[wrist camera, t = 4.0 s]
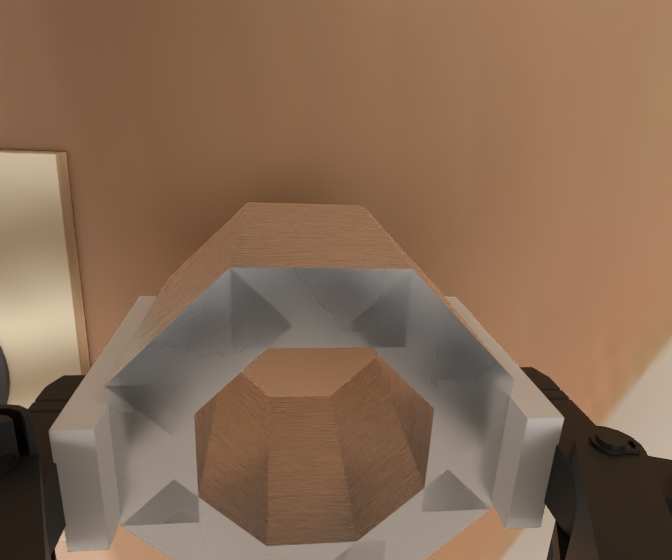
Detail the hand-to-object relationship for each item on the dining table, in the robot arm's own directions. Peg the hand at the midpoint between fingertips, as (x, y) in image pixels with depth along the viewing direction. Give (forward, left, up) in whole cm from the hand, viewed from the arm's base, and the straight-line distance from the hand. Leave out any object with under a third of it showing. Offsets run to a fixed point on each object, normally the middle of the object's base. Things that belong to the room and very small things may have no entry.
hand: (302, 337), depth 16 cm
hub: (0, 0, 0) cm, 0 cm away
